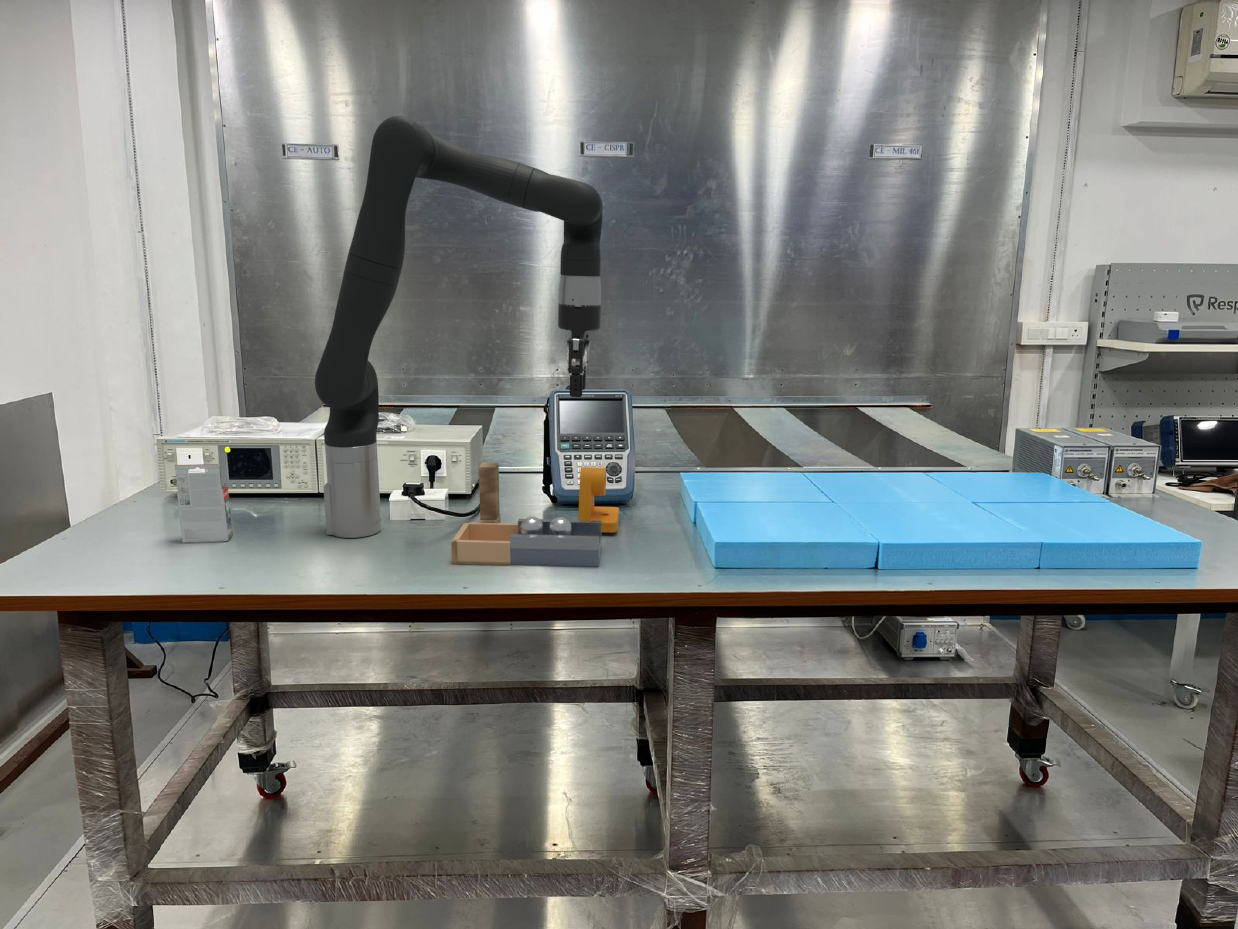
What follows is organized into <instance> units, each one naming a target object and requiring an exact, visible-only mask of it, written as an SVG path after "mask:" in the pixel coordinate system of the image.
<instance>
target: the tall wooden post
mask: <svg viewBox="0 0 1238 929" xmlns="http://www.w3.org/2000/svg"><path fill="white" fill-rule="evenodd" d="M499 467H500V466H499V462H482V463H481V464H480V465H479V466H478V479H479V480H478V482H479V484H478V486H479V488H478V489H479V521H478V523H502V521H501V518H502V517H501V513H500V475H499V474H500V468H499Z"/></svg>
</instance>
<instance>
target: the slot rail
mask: <svg viewBox="0 0 1238 929" xmlns="http://www.w3.org/2000/svg"><path fill="white" fill-rule="evenodd" d="M524 519H525V518H519V519H518V520H517V523H518V533H517V534H511V536H510V552H511V565H510V566H540V567H541V566H542V567H543V566H545V567H546V566H548V567H550V566H551V567H579V568H580V567H585V568H587V567H588V568H590V567H591V568H599V566H600V559H601V552H602V540H603V539H602V538H603V537H602V535H603V534H602V533H603V532H602V521H600V520H578V519H568V520H569V522H570V523H571V526H572V531H571V534H570V535H551V534H550V532H549V525H550V523H551V521H552V520H553V519H554V518H553V519H551V518H549V519H545V518H544V519H543V518H539V519H540V520H541V522H542V523H543V532H542V534H541V535H526V534H522V533H521V529H520V527H521V523H522V522H523V520H524Z"/></svg>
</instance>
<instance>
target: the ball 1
mask: <svg viewBox="0 0 1238 929" xmlns="http://www.w3.org/2000/svg"><path fill="white" fill-rule="evenodd" d="M523 519H524V520H523V522H522V523H521V527H520V529H521V533H522V534H526V535H541V534H542V532H543V523H542V522H541V520H540V519H541V518H539V517H536V516H527V517H525V518H523Z"/></svg>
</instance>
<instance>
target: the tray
mask: <svg viewBox="0 0 1238 929" xmlns="http://www.w3.org/2000/svg"><path fill="white" fill-rule="evenodd" d="M517 533H518V522H517V523H516V522H515V523H510V522H506V523H505V522H501V523H479V522H471V521H468V522H466V521H465V522H464V523H463V524H462V526H461V527H460V528H459V529H458V531H457V532H456V534H455V535H454V537H453V538H452V540H451V541H450V542H451V543H450V544H451V564H452V565H476V566H477V565H479V566H480V565H481V566H483V565H484V566H486V565H487V566H512V565H511V552H510V536H511V534H517Z"/></svg>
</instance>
